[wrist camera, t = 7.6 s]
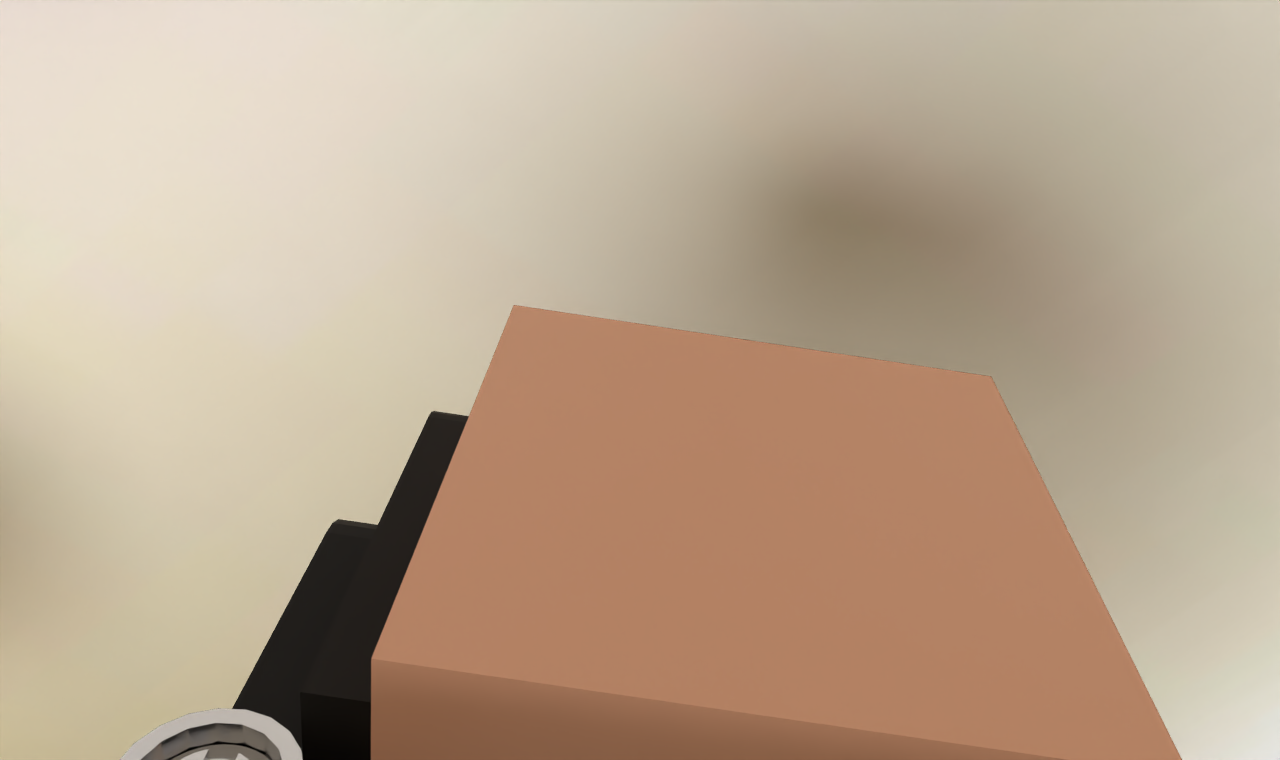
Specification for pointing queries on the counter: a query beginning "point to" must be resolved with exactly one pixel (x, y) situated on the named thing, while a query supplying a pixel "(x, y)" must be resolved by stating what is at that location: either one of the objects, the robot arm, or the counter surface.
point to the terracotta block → (745, 568)
